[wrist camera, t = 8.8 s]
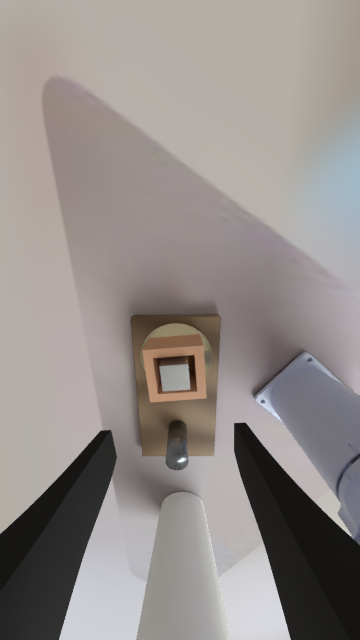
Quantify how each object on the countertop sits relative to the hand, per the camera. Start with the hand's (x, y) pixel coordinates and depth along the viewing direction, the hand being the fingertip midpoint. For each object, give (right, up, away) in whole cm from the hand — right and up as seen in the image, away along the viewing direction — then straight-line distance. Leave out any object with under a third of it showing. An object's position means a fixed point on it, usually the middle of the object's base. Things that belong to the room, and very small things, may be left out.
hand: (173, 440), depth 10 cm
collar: (0, +3, +8) cm, 8 cm away
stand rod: (0, -6, +10) cm, 12 cm away
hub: (0, +3, +9) cm, 10 cm away
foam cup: (+1, -21, +15) cm, 26 cm away
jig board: (0, -1, +10) cm, 10 cm away
